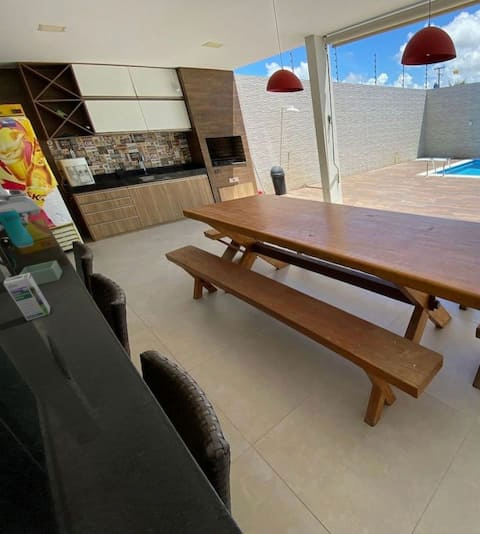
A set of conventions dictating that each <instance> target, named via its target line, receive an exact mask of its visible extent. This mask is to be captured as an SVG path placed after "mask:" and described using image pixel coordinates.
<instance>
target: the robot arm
mask: <svg viewBox="0 0 480 534" xmlns="http://www.w3.org/2000/svg"><path fill="white" fill-rule="evenodd" d="M12 208H14V209H15V210H16V211H17V212H18V214H19V215H20V217H21V218H23V219H22V221H23V223H24V224H25V226H28V225H30V222H29V217H30V216H31V217H32V216H36V215H40V214H41V213H42V209H41V206H40V205H39V204H38V203H37V201H36V200H34V199H33V198H32V197H31V196H28V195H27V194H26V193H25V191H24V190H21V189H6V188H4V187H3V186H2V183H1V182H0V210H4V209H12ZM0 231H6V230H5V227H4V226H3V225H2V224H1V223H0Z"/></svg>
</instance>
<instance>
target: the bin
mask: <svg viewBox="0 0 480 534" xmlns="http://www.w3.org/2000/svg"><path fill="white" fill-rule="evenodd" d="M27 273H30V274H31V276H32V278H33V279H34V281H35V283H36V284H37V286H40V285H43V284H44V285H45V284H49V283H53V282H56V281H59V280H60V279H61V276H62V274H63V270H62V268H61V267H60V264H59V262H58V261H57V260H51V261H47V262H42V263H38V264H33V265H29V266H25V267H24V268H23V269H22V270H21V272H20V273H19V275H23V274H27ZM19 275H18V276H19Z"/></svg>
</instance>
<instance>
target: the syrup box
mask: <svg viewBox="0 0 480 534" xmlns="http://www.w3.org/2000/svg"><path fill="white" fill-rule="evenodd" d="M3 286H4V288H5V289H6V290H7V292H8V294H9V295H10V297H11V298H12V300H13V301H14V303H15V304H16V305H17V307H18V309H19V310H20V312H21V313H22V315H23V317H24V319H25V320H26V321H28V322H30V321H31V320H35V319H38V318H42V317H45V316H49V315H50V313H51V306H50V305H49V303H48V301H47V299H46V297H45V296H44V295H43V293H42V291H41V289H40V288H39V285H37V284H36V283H35V281H34V279H33V278H32V276H31V274H30V273H27V274H23V275H14V276H11V277H7V278H5V279H4V281H3Z"/></svg>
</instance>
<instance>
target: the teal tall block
mask: <svg viewBox="0 0 480 534" xmlns="http://www.w3.org/2000/svg"><path fill="white" fill-rule="evenodd" d="M22 220H23V219H22V217H20V215H19V214H18V212H17V211H16V210H15V209H14V208H12V209H4V210H0V224H2V225H3V226H4V227H5V230H4V231H5V233H6V234H7V235H8V237H9V239H10V241H11V243H12V244H13V245H14V246H15V247H17V248H18V249H24V248H29V247H31V246H33V245H34V239H33V237H32V235H31V233H30V231H29V230H28V228H27V225H25V224H24V223H23V221H22Z"/></svg>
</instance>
